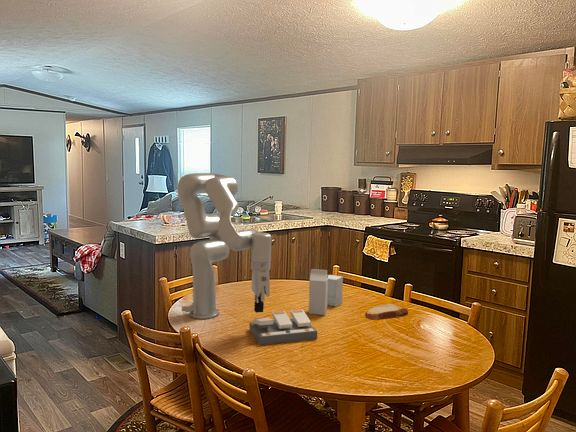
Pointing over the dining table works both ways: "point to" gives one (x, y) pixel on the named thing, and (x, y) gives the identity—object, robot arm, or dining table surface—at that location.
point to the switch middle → (282, 319)
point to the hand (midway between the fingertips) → (258, 311)
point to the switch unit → (281, 333)
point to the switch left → (263, 321)
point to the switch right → (300, 317)
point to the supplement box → (334, 290)
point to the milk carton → (318, 292)
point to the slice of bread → (385, 311)
